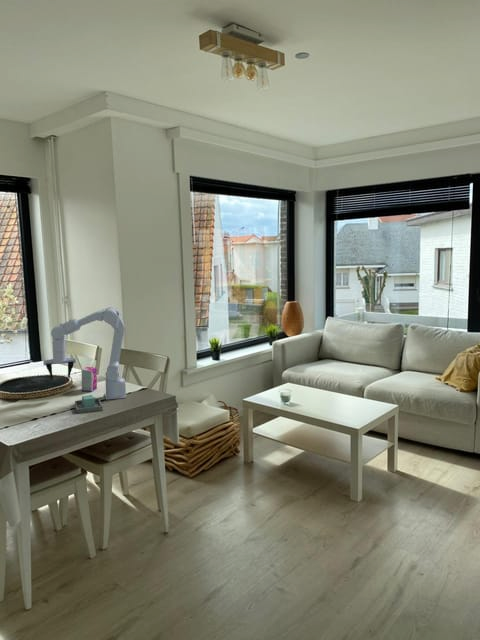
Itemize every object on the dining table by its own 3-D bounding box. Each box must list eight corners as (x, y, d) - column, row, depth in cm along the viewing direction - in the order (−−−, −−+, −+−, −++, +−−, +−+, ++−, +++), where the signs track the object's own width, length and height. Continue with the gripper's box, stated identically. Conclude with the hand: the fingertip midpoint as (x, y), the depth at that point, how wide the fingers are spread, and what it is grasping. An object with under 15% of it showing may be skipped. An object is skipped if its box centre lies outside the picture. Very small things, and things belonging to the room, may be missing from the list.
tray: (99, 402, 232) (99, 398, 232) (102, 410, 222) (102, 406, 222) (74, 404, 228) (74, 400, 227) (76, 413, 218) (76, 409, 217)
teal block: (91, 404, 228) (91, 394, 227) (94, 407, 224) (94, 397, 223) (82, 405, 225) (81, 396, 224) (85, 408, 222) (84, 399, 221)
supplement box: (92, 392, 246) (91, 370, 244) (81, 391, 247) (80, 369, 245) (97, 388, 251) (96, 367, 249) (87, 387, 252) (86, 366, 250)
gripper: (74, 347, 238) (75, 374, 240) (42, 349, 232) (44, 377, 235) (75, 351, 231) (76, 378, 234) (42, 353, 226) (44, 381, 228)
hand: (60, 378), depth 234 cm, fingers open, 7 cm apart
